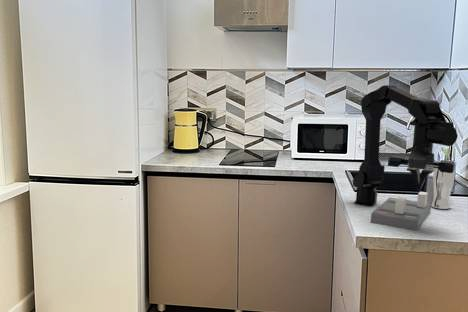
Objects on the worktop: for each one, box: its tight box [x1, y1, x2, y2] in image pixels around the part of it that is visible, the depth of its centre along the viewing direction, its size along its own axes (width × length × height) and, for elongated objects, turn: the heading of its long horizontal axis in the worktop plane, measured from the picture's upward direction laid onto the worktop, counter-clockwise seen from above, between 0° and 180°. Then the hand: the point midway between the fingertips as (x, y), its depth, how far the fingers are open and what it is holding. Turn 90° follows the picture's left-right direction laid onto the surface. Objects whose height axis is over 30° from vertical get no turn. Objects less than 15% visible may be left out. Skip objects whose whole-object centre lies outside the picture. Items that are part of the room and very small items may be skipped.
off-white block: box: [416, 191, 428, 208], centre depth 155 cm, size 2×4×4 cm, turn 148°
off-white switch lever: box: [395, 196, 407, 214], centre depth 147 cm, size 2×4×4 cm, turn 148°
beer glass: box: [431, 168, 456, 210], centre depth 165 cm, size 7×7×15 cm
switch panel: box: [370, 197, 432, 231], centre depth 153 cm, size 14×24×3 cm, turn 148°
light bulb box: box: [426, 171, 434, 203], centre depth 173 cm, size 11×7×11 cm, turn 148°
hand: (418, 190), depth 144 cm, fingers closed
